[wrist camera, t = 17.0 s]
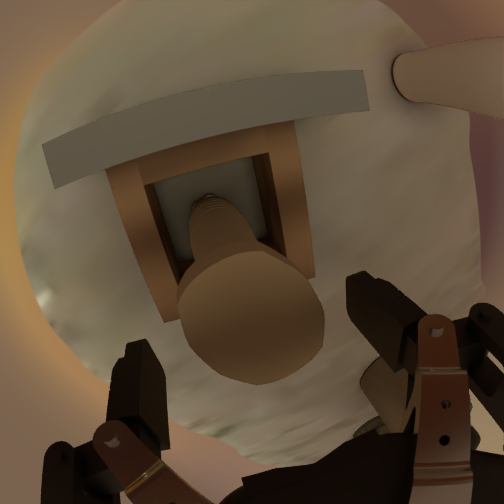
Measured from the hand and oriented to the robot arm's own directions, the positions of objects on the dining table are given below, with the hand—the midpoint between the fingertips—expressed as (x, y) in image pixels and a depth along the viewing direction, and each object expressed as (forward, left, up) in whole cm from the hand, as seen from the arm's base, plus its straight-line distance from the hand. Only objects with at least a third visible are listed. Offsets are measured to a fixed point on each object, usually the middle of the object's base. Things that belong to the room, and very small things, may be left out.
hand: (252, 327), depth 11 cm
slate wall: (+8, -1, -15) cm, 17 cm away
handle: (0, 0, -15) cm, 15 cm away
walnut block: (+1, 0, -15) cm, 15 cm away
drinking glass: (+9, -22, -15) cm, 28 cm away
